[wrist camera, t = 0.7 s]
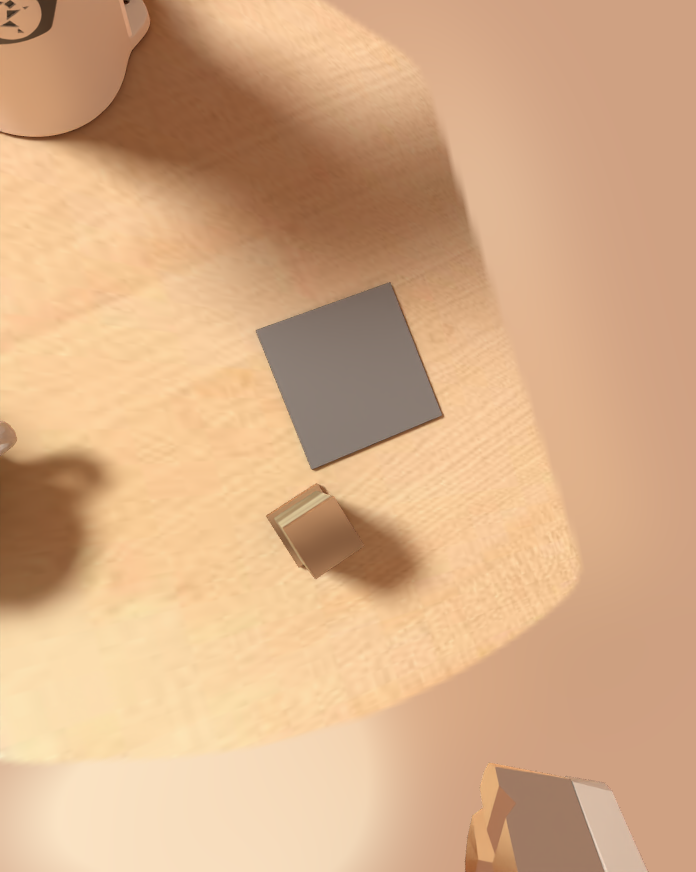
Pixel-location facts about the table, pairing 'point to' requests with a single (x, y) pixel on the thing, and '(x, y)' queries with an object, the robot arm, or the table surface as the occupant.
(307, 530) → the banded square pillar
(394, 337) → the mat
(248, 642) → the table surface
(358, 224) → the table surface
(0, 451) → the teacup
